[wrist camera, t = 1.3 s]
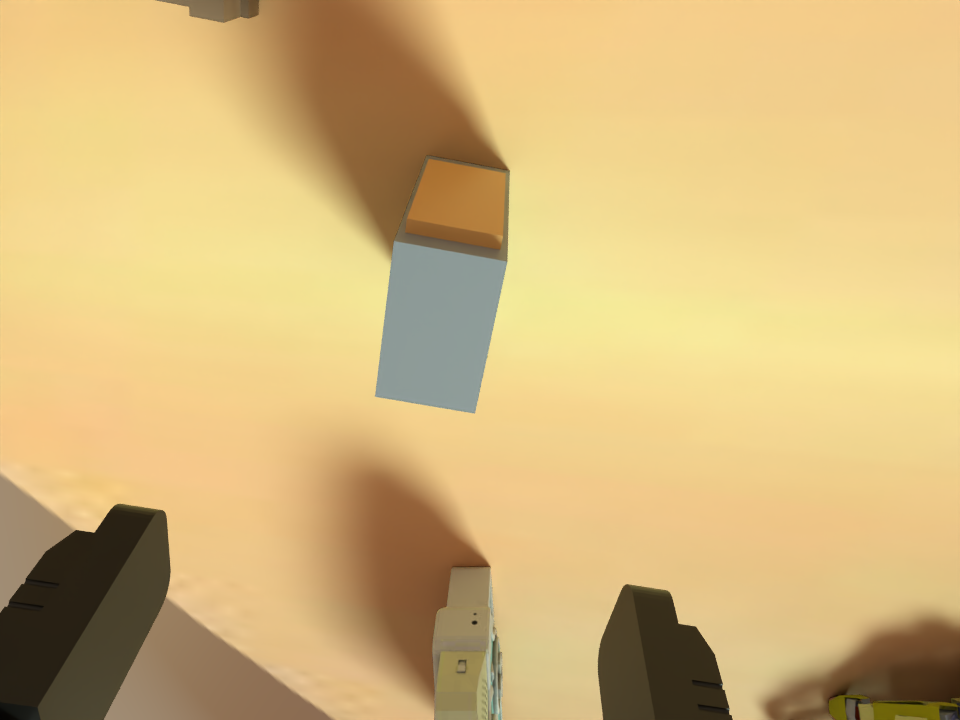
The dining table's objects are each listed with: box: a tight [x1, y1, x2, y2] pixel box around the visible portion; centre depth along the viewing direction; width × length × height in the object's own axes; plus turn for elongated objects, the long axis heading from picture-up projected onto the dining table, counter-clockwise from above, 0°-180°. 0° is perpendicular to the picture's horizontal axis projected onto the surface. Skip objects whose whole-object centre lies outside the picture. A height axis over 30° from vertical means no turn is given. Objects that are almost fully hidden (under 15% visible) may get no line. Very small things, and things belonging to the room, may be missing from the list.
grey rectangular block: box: [375, 155, 510, 413], centre depth 23 cm, size 5×3×8 cm, turn 170°
